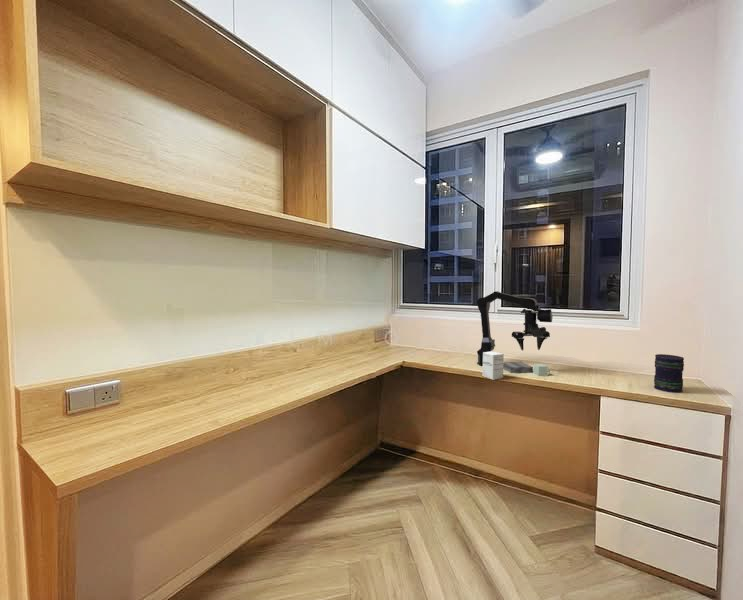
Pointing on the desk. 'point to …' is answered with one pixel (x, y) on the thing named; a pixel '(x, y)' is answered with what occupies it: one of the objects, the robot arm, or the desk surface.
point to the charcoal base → (517, 367)
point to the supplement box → (493, 365)
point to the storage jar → (668, 373)
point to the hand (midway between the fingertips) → (530, 350)
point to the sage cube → (540, 370)
